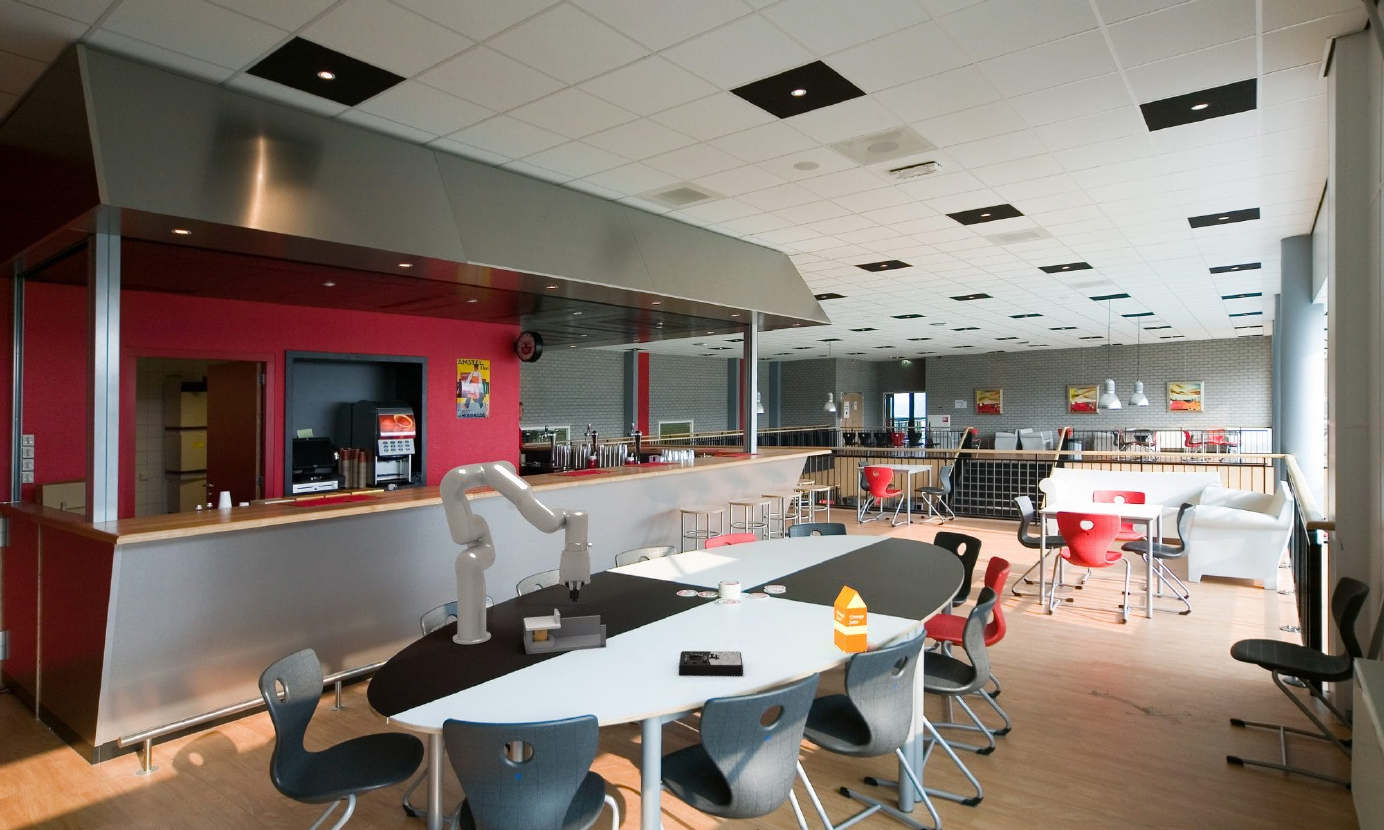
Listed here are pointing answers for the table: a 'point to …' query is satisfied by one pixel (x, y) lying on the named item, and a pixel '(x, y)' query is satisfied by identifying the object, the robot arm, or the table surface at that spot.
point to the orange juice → (850, 621)
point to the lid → (543, 622)
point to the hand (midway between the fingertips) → (573, 600)
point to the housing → (569, 636)
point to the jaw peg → (541, 635)
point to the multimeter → (710, 663)
